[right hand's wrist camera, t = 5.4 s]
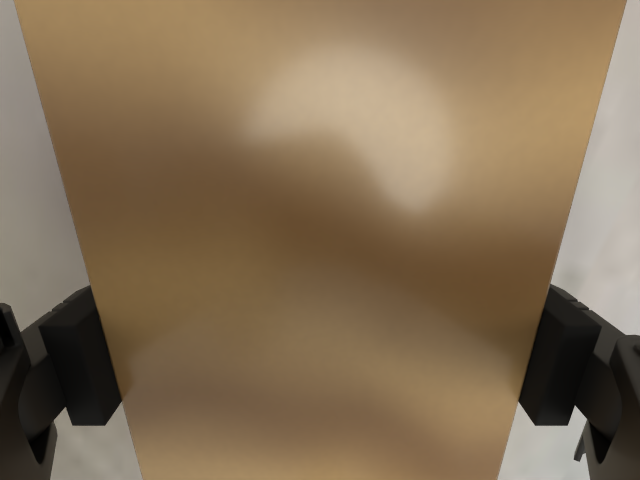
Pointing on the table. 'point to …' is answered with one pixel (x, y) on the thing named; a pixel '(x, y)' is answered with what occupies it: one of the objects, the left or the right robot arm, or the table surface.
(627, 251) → the table surface
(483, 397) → the wooden beam
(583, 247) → the table surface
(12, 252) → the table surface
